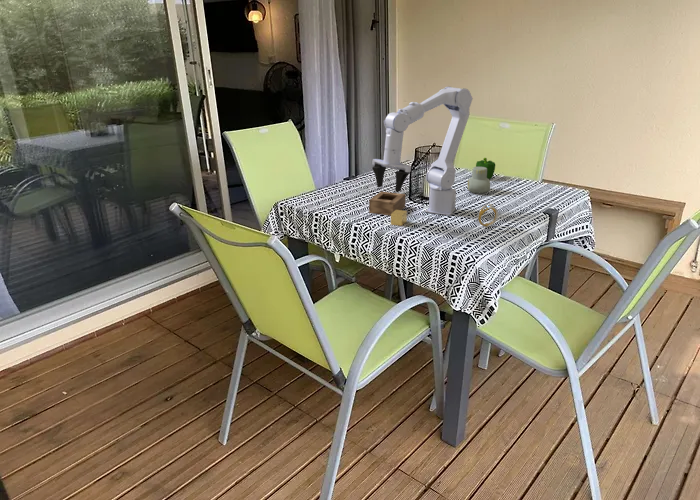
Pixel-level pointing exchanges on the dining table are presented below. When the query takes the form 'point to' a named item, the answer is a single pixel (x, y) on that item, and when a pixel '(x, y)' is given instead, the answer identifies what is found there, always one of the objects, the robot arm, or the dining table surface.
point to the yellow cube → (398, 217)
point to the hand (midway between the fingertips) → (388, 189)
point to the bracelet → (485, 211)
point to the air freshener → (479, 180)
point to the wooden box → (386, 203)
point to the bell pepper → (488, 165)
